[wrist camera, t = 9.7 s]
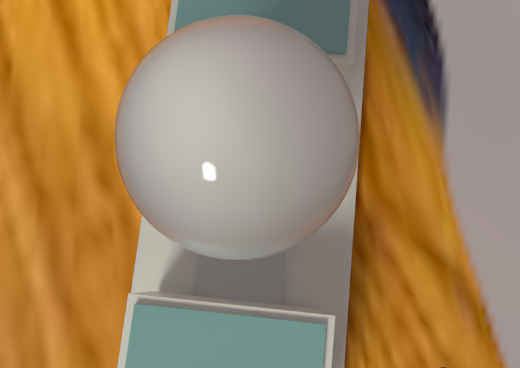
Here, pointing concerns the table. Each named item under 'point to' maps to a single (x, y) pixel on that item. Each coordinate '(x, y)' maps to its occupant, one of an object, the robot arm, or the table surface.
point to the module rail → (257, 270)
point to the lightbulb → (237, 137)
